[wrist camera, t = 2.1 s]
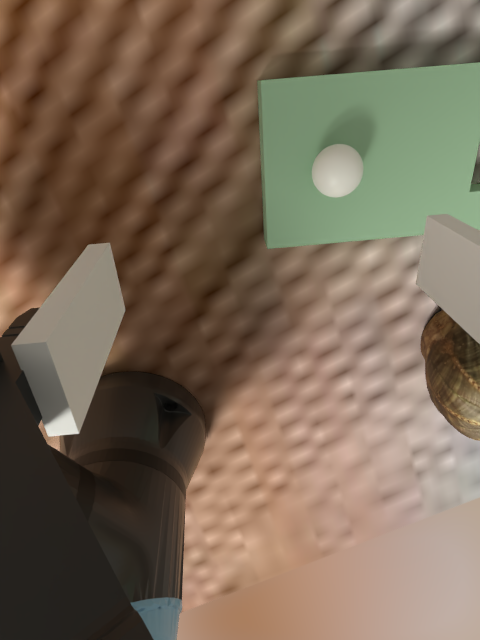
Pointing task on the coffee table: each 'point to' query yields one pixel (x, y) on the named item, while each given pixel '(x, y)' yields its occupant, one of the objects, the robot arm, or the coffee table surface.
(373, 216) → the mat
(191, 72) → the coffee table surface
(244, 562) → the coffee table surface
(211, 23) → the coffee table surface
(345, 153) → the ball
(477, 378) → the ribbed round cactus
